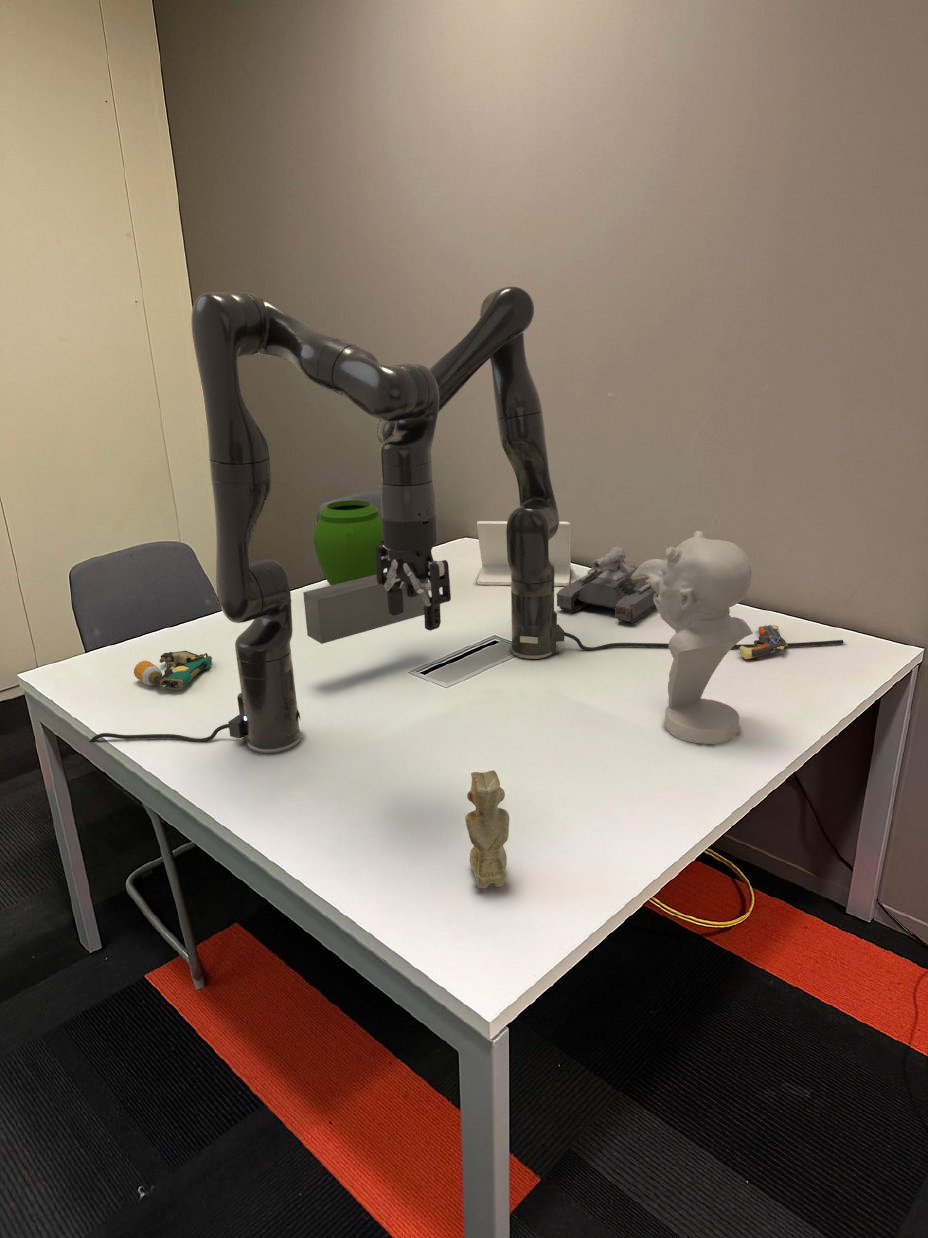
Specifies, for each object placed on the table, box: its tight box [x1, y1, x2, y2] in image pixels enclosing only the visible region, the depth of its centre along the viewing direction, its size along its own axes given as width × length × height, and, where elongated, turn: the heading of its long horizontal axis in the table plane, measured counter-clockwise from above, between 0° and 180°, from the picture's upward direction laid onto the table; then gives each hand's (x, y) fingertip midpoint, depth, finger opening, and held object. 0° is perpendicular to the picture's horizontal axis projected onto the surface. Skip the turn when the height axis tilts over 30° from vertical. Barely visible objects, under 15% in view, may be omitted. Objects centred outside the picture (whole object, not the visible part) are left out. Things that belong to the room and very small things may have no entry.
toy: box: [556, 546, 656, 624], centre depth 212 cm, size 25×20×15 cm
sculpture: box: [464, 769, 510, 889], centre depth 113 cm, size 6×7×15 cm
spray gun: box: [133, 650, 213, 690], centre depth 180 cm, size 4×17×15 cm
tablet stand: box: [476, 520, 572, 587], centre depth 236 cm, size 18×25×17 cm
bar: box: [302, 571, 430, 645], centre depth 174 cm, size 26×6×9 cm, turn 128°
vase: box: [312, 499, 383, 586], centre depth 223 cm, size 20×20×24 cm
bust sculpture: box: [631, 530, 754, 745], centre depth 151 cm, size 16×24×35 cm, turn 28°
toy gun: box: [739, 624, 788, 660], centre depth 187 cm, size 3×19×10 cm
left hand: (414, 621), depth 125 cm, fingers open, 8 cm apart
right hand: (404, 592), depth 178 cm, fingers closed on bar, 6 cm apart
